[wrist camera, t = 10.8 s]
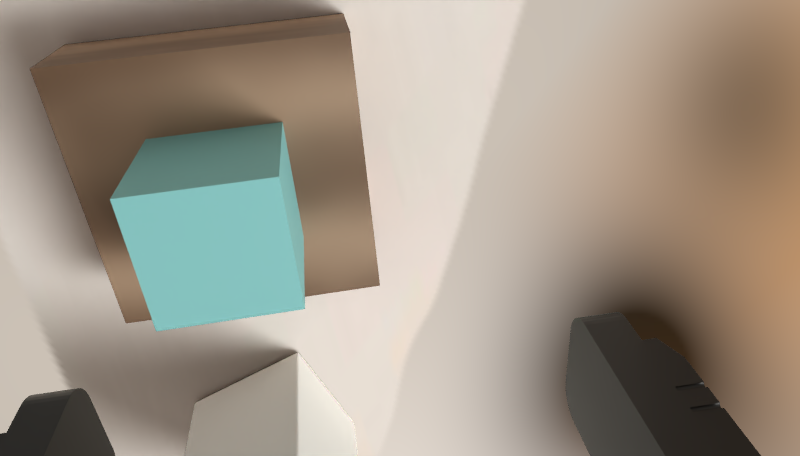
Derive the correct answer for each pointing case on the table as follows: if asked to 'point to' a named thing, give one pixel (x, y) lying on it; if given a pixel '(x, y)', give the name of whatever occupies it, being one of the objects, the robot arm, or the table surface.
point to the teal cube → (213, 226)
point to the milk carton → (272, 417)
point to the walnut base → (215, 110)
